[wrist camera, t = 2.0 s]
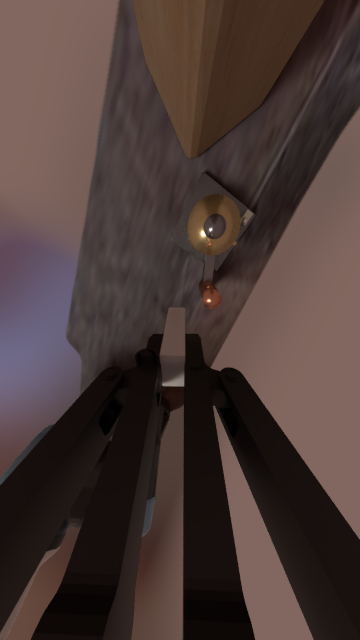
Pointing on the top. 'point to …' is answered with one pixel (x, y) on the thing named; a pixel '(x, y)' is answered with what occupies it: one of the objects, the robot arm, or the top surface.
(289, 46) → the wooden block
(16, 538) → the robot arm
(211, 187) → the level base
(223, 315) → the top surface
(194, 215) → the crank handle
